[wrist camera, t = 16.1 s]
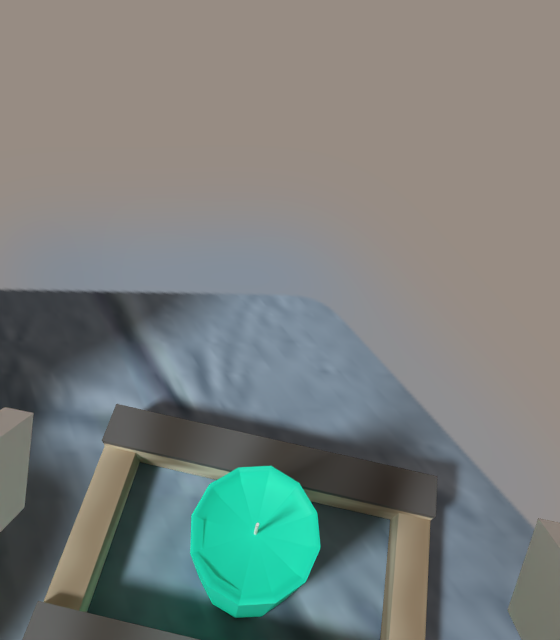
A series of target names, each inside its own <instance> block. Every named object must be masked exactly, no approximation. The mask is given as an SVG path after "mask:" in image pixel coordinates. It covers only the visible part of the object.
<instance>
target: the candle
mask: <svg viewBox="0 0 560 640" xmlns="http://www.w3.org/2000/svg"><path fill="white" fill-rule="evenodd" d="M320 548H321V546H320V536H319V525H318V514H317V511H316V510H315V508H314V506H313V505H312V503H311V501H310V500H309V498H308V496H307V495H306V493H305V491H304V490H303V488H302V486H301V485H300V483H299V482H297V481H295V480H294V479H292V478H290V477H289V476H287V475H285V474H284V473H282V472H280V471H279V470H277V469H276V468H274V467H272V466H256V467H238V468H236V469H235V470H233V471H231V472H230V473H228V474H226V475H224V476H223V477H221V478H219V479H218V480H216V481H214V482H212V483H211V484H209V486H208V488H207V489H206V491H205V493H204V494H203V496H202V498H201V500H200V501H199V503H198V505H197V507H196V508H195V510H194V512H193V513H192V515H191V550H190V554H191V557H192V559H193V562H194V565H195V567H196V570H197V573H198V576H199V578H200V581H201V583H202V585H203V587H204V589H205V590H206V592H207V594H208V596H209V598H210V600H211V602H212V604H213V605H215V606H216V607H218V608H220V609H221V610H223V611H225V612H226V613H228V614H230V615H231V616H233V617H234V618H244V617H262V616H263V615H265V614H266V613H267V612H269V611H270V610H272V609H273V608H274V607H276V606H277V605H279V604H280V603H281V602H283V601H284V600H285V599H286V598H288V597H289V596H290V595H291V594H292V593H293V592H295V591H296V590H297V589H298V588H299V587H300V586H302V585H303V584H304V583H305V582H306V580H307V578H308V576H309V573H310V571H311V569H312V567H313V564H314V562H315V560H316V557H317V555H318V553H319V551H320Z"/></svg>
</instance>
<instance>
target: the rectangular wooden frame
mask: <svg viewBox="0 0 560 640" xmlns="http://www.w3.org/2000/svg"><path fill="white" fill-rule="evenodd" d="M102 441H103V443H104V445H105V447H104V450H103V452H102V455H101V457H100V460H99V462H98V465H97V467H96V470H95V472H94V475H93V477H92V480H91V483H90V485H89V488H88V490H87V493H86V495H85V498H84V500H83V503H82V505H81V508H80V510H79V513H78V516H77V518H76V521H75V523H74V526H73V528H72V531H71V533H70V536H69V538H68V541H67V544H66V546H65V549H64V551H63V554H62V556H61V559H60V561H59V564H58V566H57V569H56V571H55V574H54V577H53V579H52V582H51V584H50V587H49V589H48V592H47V594H46V597H45V599H44V602H41V601H38V602H37V604H36V607H35V609H34V612H33V614H32V617H31V619H30V622H29V624H28V627H27V629H26V632H25V634H24V637H23V639H22V640H199V639H195V638H191V637H187V636H182V635H178V634H174V633H170V632H166V631H162V630H157V629H153V628H149V627H145V626H141V625H137V624H132V623H128V622H124V621H120V620H116V619H111V618H107V617H103V616H99V615H95V614H91V613H87V611H88V608H89V605H90V603H91V600H92V597H93V594H94V591H95V588H96V585H97V583H98V580H99V577H100V574H101V571H102V568H103V565H104V563H105V560H106V557H107V554H108V551H109V548H110V546H111V543H112V540H113V537H114V534H115V531H116V528H117V526H118V523H119V520H120V517H121V514H122V511H123V508H124V506H125V503H126V500H127V497H128V494H129V491H130V488H131V486H132V483H133V480H134V477H135V474H136V471H137V469H138V466H139V463H140V462H141V463H146V464H150V465H155V466H159V467H163V468H168V469H172V470H176V471H181V472H185V473H189V474H194V475H198V476H202V477H207V478H211V479H216V480H218V479H219V478H221V477H223V476H224V475H226V474H228V473H230V472H231V471H233V470H235V469H236V468H238V467H256V466H272V467H274V468H276V469H277V470H279V471H280V472H282V473H284V474H285V475H287V476H289V477H290V478H292V479H294V480H295V481H297V482H299V483H300V485H301V486H302V488H303V490H304V491H305V493H306V495H307V496H308V498H309V500H310V501H312V502H316V503H320V504H325V505H329V506H333V507H338V508H342V509H346V510H351V511H355V512H359V513H364V514H368V515H373V516H377V517H381V518H386V519H390V531H389V542H388V554H387V566H386V578H385V590H384V602H383V614H382V625H381V637H380V640H425V630H426V608H427V585H428V563H429V541H430V520H431V519H433V518H435V517H436V499H437V476H434V475H429V474H425V473H420V472H416V471H411V470H407V469H403V468H398V467H394V466H389V465H385V464H380V463H376V462H372V461H367V460H363V459H358V458H354V457H349V456H345V455H341V454H336V453H332V452H327V451H323V450H318V449H314V448H310V447H305V446H301V445H296V444H292V443H287V442H283V441H279V440H274V439H270V438H265V437H261V436H257V435H252V434H248V433H243V432H239V431H234V430H230V429H226V428H221V427H217V426H212V425H208V424H203V423H199V422H195V421H190V420H186V419H181V418H177V417H172V416H168V415H164V414H159V413H155V412H150V411H146V410H141V409H137V408H133V407H128V406H124V405H119V404H116V406H115V409H114V411H113V414H112V416H111V419H110V421H109V424H108V426H107V429H106V431H105V434H104V436H103V439H102Z"/></svg>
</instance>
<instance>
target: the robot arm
mask: <svg viewBox="0 0 560 640" xmlns="http://www.w3.org/2000/svg"><path fill="white" fill-rule="evenodd" d="M33 414H34V413H31V412H26V411H21V410H16V409H12V408H7V407H4V408H3V409H1V410H0V532H1V531H2V530H3V529H4V528H5V527H6V526H7V525H8V524H9V523H10V522H11V521H12V520H13V519H14V518H15V517H16V516H17V515H18V514H19V513H20V512H21V511H22V510H23V509H24V507H25V497H26V487H27V476H28V466H29V456H30V445H31V435H32V424H33ZM508 612H509V614H510V616H511V618H512V621H513V623H514V625H515V627H516V629H517V631H518V633H519V635H520V637H521V639H522V640H560V523H558V522H553V521H549V520H544V519H538V521H537V524H536V527H535V530H534V533H533V536H532V539H531V542H530V545H529V548H528V551H527V554H526V557H525V560H524V563H523V566H522V569H521V572H520V575H519V578H518V581H517V584H516V587H515V590H514V593H513V596H512V599H511V602H510V605H509V608H508Z"/></svg>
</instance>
